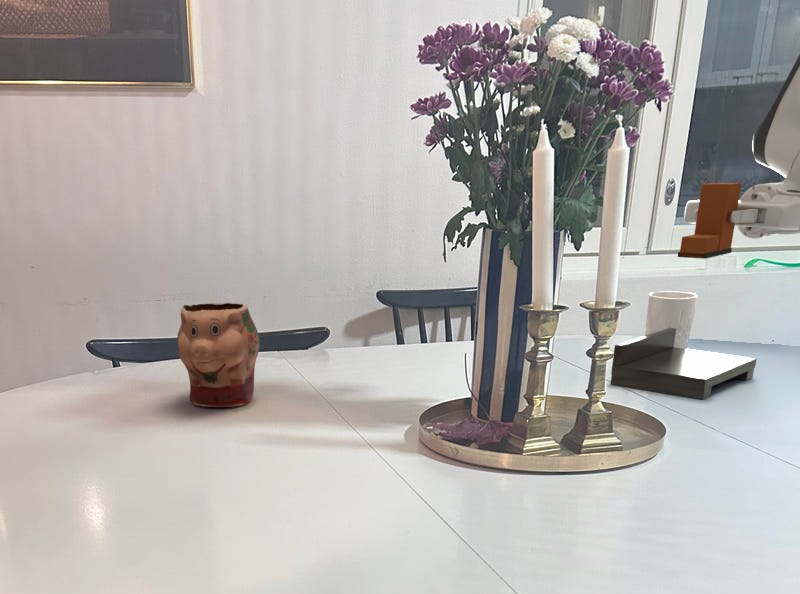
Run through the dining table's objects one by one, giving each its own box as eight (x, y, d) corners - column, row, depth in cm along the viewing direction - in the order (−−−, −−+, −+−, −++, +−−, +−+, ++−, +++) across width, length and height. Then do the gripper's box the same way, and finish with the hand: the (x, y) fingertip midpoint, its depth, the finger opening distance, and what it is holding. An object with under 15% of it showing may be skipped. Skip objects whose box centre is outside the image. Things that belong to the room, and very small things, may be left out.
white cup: (697, 357, 162) (708, 296, 157) (660, 361, 160) (669, 299, 155) (668, 348, 168) (677, 290, 164) (631, 352, 166) (639, 293, 161)
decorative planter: (192, 384, 153) (184, 294, 146) (266, 382, 152) (262, 292, 146) (172, 416, 135) (162, 316, 129) (256, 415, 135) (251, 314, 128)
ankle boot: (731, 252, 163) (743, 182, 158) (705, 258, 157) (717, 186, 152) (703, 251, 166) (714, 182, 161) (677, 257, 160) (687, 185, 155)
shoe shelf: (753, 377, 148) (760, 338, 145) (702, 399, 137) (709, 358, 134) (664, 364, 158) (669, 327, 155) (609, 384, 146) (614, 345, 144)
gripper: (715, 190, 172) (666, 194, 166) (820, 192, 157) (770, 197, 151) (709, 227, 175) (661, 232, 169) (812, 233, 160) (763, 239, 154)
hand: (713, 216), depth 160 cm, fingers closed on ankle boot, 5 cm apart
